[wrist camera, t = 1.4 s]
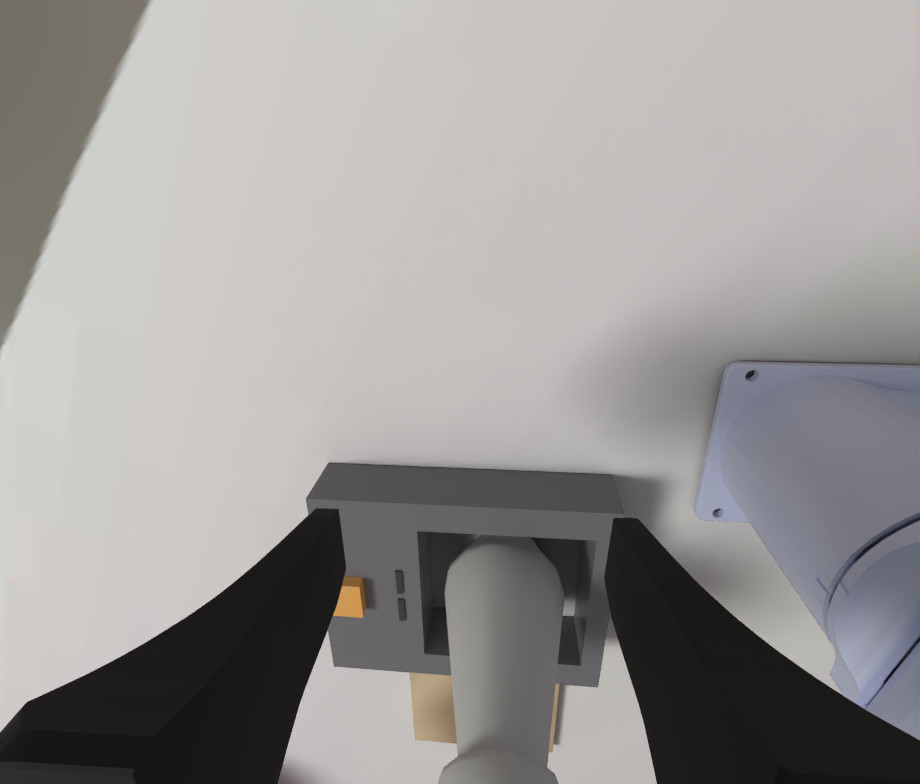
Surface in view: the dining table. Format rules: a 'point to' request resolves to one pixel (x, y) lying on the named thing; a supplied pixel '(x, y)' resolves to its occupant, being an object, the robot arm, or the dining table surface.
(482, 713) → the salt shaker
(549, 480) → the grey flat block
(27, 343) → the dining table surface
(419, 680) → the oak pad
